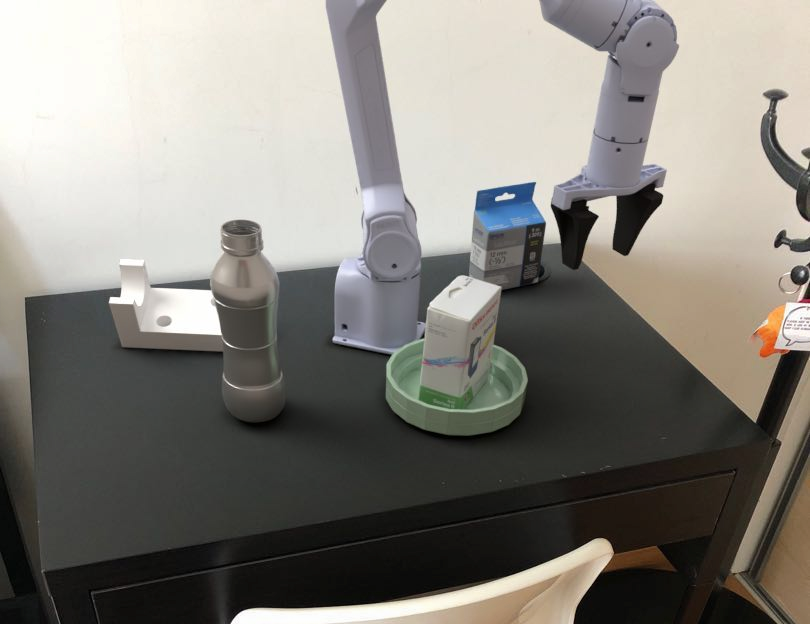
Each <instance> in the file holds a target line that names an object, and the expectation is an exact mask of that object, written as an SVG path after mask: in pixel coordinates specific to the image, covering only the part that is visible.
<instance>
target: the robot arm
mask: <svg viewBox="0 0 810 624" xmlns="http://www.w3.org/2000/svg"><path fill="white" fill-rule="evenodd" d="M387 1H388V0H325V11H326V16H327V22H328V27H329V32H330V36H331V41H332V46H333V53H334V58H335V62H336V67H337V75H338V78H339V83H340V88H341V93H342V99H343V105H344V109H345V110H344V111H345V114H346V120H347V126H348V130H349V135H350V141H351V146H352V151H353V156H354V161H355V166H356V167H355V168H356V172H357V178H358V181H359V188H360V194H361V195H360V196H361V202H362V203H361V204H362V208H363V209H362V212H361V218H360V219H361V220H360V221H361V228H362V242H363V243H362V244H363V245H362V251H361V253H360V254H359V255H358V256H357V257H345V258H343V260H342V261H341V263H340V265H339V267H338V269H337V273H336V278H335V283H334V336H333V337H332V343H333V344H337V345H343V346H345V347H346V346H347V347H351V348H356V349H362V350H366V351H370V352H371V351H372V352H376V353H381V354H386V355H391V356H392V354H393V353H394V352H396V351H397V350H398V349H400V348H401V347H403V346H404V345H406V344H408V343H411V342H414V341H417V340H420V339H422V337H423V335H424V334H425V329H426V322H423V321H418V320H419V306H420V305H419V304H420V293H421V292H420V291H421V290H420V289H421V277H422V276H421V275H422V274H421V273H422V261H421V259H422V251H423V250H422V245H421V240H420V239H419V233H418V228H417V227H418V226H417V223H418V217H417V212H416V208H415V207H414V205H413V204H412V202H411V201H410V199H409V198H408V196H407V194H406V192H405V188H404V184H403V183H404V182H403V177H402V173H401V172H402V171H401V165H400V159H399V154H398V147H397V141H396V133H395V129H394V122H393V115H392V109H391V103H390V98H389V97H390V96H389V91H388V84H387V78H386V72H385V65H384V58H383V52H382V47H381V46H382V45H381V40H380V34H379V27H378V22H377V15H378V14H379V12H380V10H381V9H382V8H383V6H384V5H385V3H386V2H387ZM538 1H539V6H540V11H541V16H542V19H543V20H544V22H546V23H548V24H550V25H552V26H553V27H555V28H557V29H558V30H560V31H562V32H564V33H566V34H568V35H569V36H571V37H573V38H574V39H576V40H578V41H580V42H581V43H583V44H584V45H587V46H588V47H590V48H592V49H594V50H595V51H597V52H607V53H608V55H607V58H606V59H607V60H606V64H605V69H604V75H603V80H602V83H601V87H600V91H599V98H598V103H597V109H596V112H595V113H596V114H595V119H594V124H593V130H592V137H591V141H590V147H589V152H588V158H587V162H586V163H587V164H586V165H585V164H584V165H582V166H581V171H580V173H579V174H576V176H574V177H572V178H570V179H568V180H566V181H565V182H562V183H559V184H555V185H554V186H553V191H552V197H551V199H550V200H551V201H550V209H551V211H552V214H553V216H554V218H555V222H556V225H557V230H558V235H559V240H560V241H559V242H560V249H561V250H560V251H561V263H562V264H563V265H564V266H565V267H567V268H569V269H571V270H573V271H575V270H579V269H580V267H581V263H582V261H583V257H584V254H585V249H586V245H587V241H588V239H589V236H590V234H591V232H592V230H593V228H594V225H595V224H596V222H597V221H598V219H599V215H598V214H597V213H595V212H593V211H591V210H590V205H588V202H592V201H595V200H596V201H597V200H599V199H603V198H604V199H605V198H608V197H615V198H616V201H615V202H616V212H615V214H616V215H615V222H614V223H615V224H614V229H613V235H612V250H613V251H615V252H616V253H618V254H620V255H622V256H624V257H628V256H629V254H630V253H631V251H632V249H633V247H634V245H635V243H636V241H637V239H638V237H639V235H640V233H641V232H642V230H643V228H644V227H645V225H646V224H647V222H648V221H649V219H650V218H651V217H652V215H653V214H654V213H655V211H656V210H657V209H658V208H659V207H660V206H661V205H662V203H663V200H664V194H663V193H662V192H660V191H657V190H656V189H659V188H660V189H661V188H663V187H664V184H665V179H666V175H667V172H668V169H667V168H664V167H662V166H661V165H658V164H656V163H652V164H651V163H650V164H644V161H645V156H646V152H647V147H648V144H649V139H650V134H651V130H652V126H653V120H654V116H655V112H656V107H657V103H658V99H659V94H660V88H661V87H660V86H661V82H662V77H663V74H664V71H666V69H668V67H669V66H670V65H671V64H672V62H673V61H674V60H675V58H676V57H677V54H678V51H679V48H680V44H679V43H677V41H678V30H677V26H676V24H675V21H674V19H673V18H672V16H670V14H669V13H668V12H667V11H666V10H664V8H663V7H661V6H660V5H659V4H658V3H657V2H656V1H654V0H538Z"/></svg>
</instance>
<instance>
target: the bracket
mask: <svg viewBox="0 0 810 624" xmlns="http://www.w3.org/2000/svg"><path fill="white" fill-rule="evenodd" d="M118 266H119V271H120V279H121V280H120V281H121V286H120V287H121V291H120V296H119V297H118V296H117V297H116V296H110V297H109V301H108V306H109V309H110V312H111V315H112V319H113V322H114V325H115V328H116V332H117V335H118V338H119V339H118V340H119V341H120V345H121V347H122V348H131V349H134V348H135V349H155V350H180V351H203V352H223V342H222V334H221V330H220V324H219V318H218V314H217V311H216V307H215V303H214V299H213V296H212V292H211V289H210V290H209V289H189V288H167V287H166V288H165V287H152V286H151V283H150V278H149V275H148V270H147V266H146V262H145V259H131V258H129V259H127V258H120V260H119V263H118Z"/></svg>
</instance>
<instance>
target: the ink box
mask: <svg viewBox="0 0 810 624" xmlns="http://www.w3.org/2000/svg"><path fill="white" fill-rule="evenodd" d="M501 289H502V287H501V286H498V285H494V284H491V283H488V282H485V281H481V280H478V279H475V278H471V277H469V275H468V276H467V275H464V274H463V275H458V276H456V278H455V279H453V280H452V281H451V282H450V283H449V284H448V285H447V286H446V287H445V288H444V289H442V291H441V292H440V293H439V294H438V295H436V296H435V297H434V299H433V300H431V301H430V302H429V306H428V307H427V308H426V320H425V323H426V329H425V332H424V338H425V339H424V338H423V339H424V349H423V360H422V369H421V378H420V389H419V398H418V400H419V401H422V402H424V403H426V404H429V405H433V406H438V407H443V408H447V409H465V408H466V407H467V405H468V404H469V403H470V401H471V400H472V399H473V397H474V396H475V395H476V394H477V392H478V391H479V390H480V389H481V387H482V386H483V385H484V383H485V382H486V381H487V380H488V375H489V369H490V362H491V356H492V350H493V344H495V335H496V328H497V322H498V314H499V309H500V303H501V295H502V290H501Z"/></svg>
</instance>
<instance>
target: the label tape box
mask: <svg viewBox="0 0 810 624" xmlns="http://www.w3.org/2000/svg"><path fill="white" fill-rule="evenodd" d="M536 184H537V182H536V181H529V182H523V183H516V184H510V185H504V186H497V187H491V188H485V189H478V190H476V196H475V202H474V203H475V205H474V210H473V220H472V230H471V241H470V243H471V244H470V256H469V257H470V258H469V269H468V277H471V278H475V279H478V280H481V281H485V282H488V283H491V284H494V285H498V286H501V287H502V289H501V291H504V290H509V289H514V288H519V287H522V286H527V285H532V284H536V283H538V282H539V278H540V277H539V276H540V270H541V264H542V257H543V248H544V241H545V235H546V227H547V222H546V220H545V219H544V216H543V215H542V213H541V211H540V210H539V208H538V207H537V205H536V203H535V201H534V200H533V197H534V195H535V194H534V193H535V189H536ZM505 194H507V195H509V196H510V195H514V196H513V197H512V198H505V199H500V200H496V199H497V197H502V196H504V195H505Z"/></svg>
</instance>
